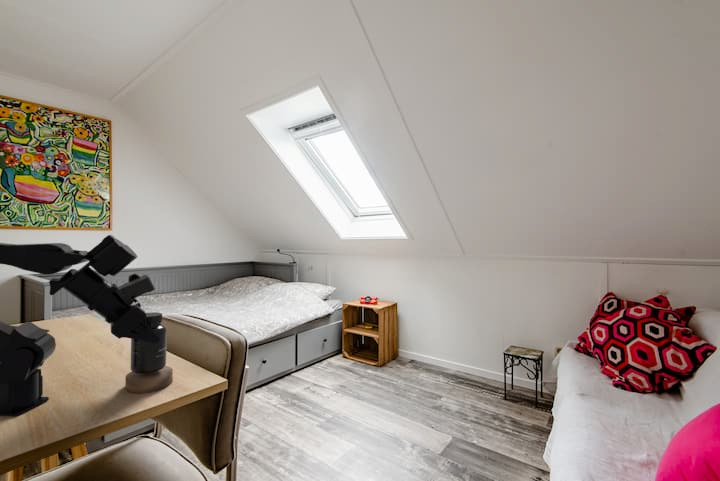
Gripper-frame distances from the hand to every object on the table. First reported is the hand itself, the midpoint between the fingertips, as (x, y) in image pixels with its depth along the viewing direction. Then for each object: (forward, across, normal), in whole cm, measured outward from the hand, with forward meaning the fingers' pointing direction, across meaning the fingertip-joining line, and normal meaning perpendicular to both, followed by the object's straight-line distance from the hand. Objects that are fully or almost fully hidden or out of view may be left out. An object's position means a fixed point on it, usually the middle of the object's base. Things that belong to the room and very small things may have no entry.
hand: (156, 337), depth 80 cm
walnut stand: (+6, 0, +8) cm, 10 cm away
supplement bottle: (+4, 0, +6) cm, 7 cm away
